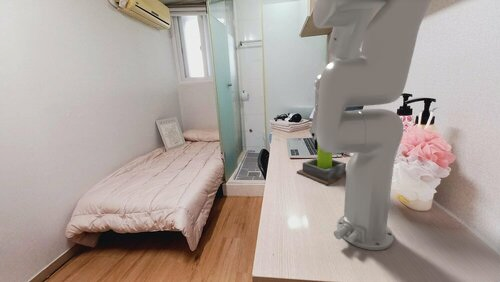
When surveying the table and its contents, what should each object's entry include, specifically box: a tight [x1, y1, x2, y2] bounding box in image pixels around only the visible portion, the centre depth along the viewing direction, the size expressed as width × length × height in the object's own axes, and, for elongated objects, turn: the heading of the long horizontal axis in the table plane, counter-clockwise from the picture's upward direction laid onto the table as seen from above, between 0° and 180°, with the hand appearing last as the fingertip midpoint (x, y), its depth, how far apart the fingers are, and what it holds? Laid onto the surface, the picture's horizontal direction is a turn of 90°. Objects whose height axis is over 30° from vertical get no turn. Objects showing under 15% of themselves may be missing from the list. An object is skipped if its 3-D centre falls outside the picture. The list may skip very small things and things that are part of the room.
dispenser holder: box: [296, 157, 347, 186], centre depth 88 cm, size 16×16×5 cm
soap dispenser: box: [316, 146, 333, 170], centre depth 86 cm, size 6×7×20 cm
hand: (324, 150), depth 86 cm, fingers closed on soap dispenser, 5 cm apart
